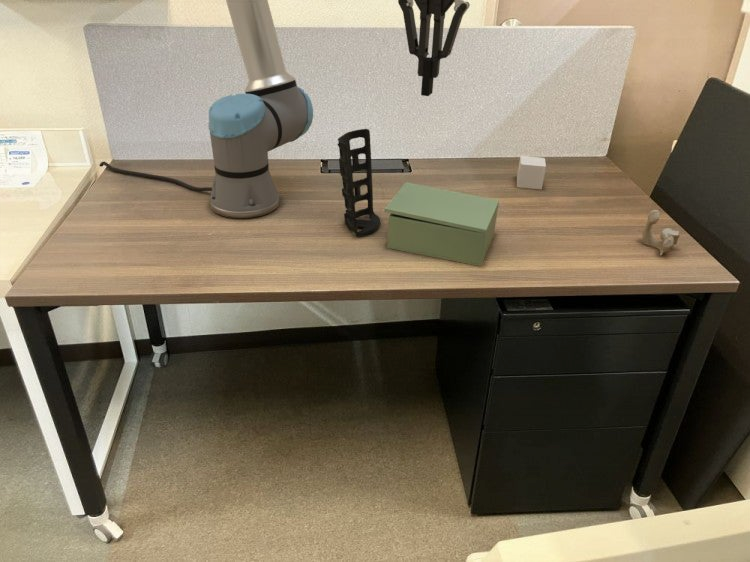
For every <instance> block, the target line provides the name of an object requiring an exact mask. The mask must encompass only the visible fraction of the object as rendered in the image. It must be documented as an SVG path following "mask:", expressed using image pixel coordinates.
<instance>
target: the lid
mask: <svg viewBox="0 0 750 562" xmlns="http://www.w3.org/2000/svg"><path fill="white" fill-rule="evenodd" d="M498 204H500V200H499V199H495V198H490V197H484V196H479V195H474V194H469V193H464V192H459V191H454V190H449V189H444V188H438V187H434V186H429V185H424V184H419V183H413V182H408V181H405V182H404V183H403V185H402V186H401V187H400V189H399V190H397V192H396V194H395V195H394V196H393V198H392V199H391V200H390V201H389V202H388V204H387V205H386V206H385V207H384V210H383V212H384V213H387V214H396V215H400V216H405V217H410V218H415V219H419V220H424V221H429V222H433V223H438V224H443V225H448V226H452V227H457V228H462V229H466V230H471V231H476V232H481V233H485V234H486V232H487V229H488V227H489V225H490V223H491V220H492V218H493V216H494V213H495V211H496V209H497V206H498V207H499V205H498Z"/></svg>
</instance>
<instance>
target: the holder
mask: <svg viewBox="0 0 750 562" xmlns="http://www.w3.org/2000/svg"><path fill="white" fill-rule="evenodd" d="M358 138H362V139H363V140H364V145H363V146H361V147H356V148H351V142H350V141H351V140H353V139H358ZM337 142H338V143H337V144H336V145H337V147H338V150H339V158H338V163H339V164H338V165H339V174H340V176H341V180H342V188H341V194H342V197H343V200H344V208H345V213H343V217H344V225H345V226H346V227H347V229H348V231H350V232H352V233H353V234H354V235H355V237H357V238H362V237H365V236H367V235H370V234H371V233H373V232H374V231H376V230H377V229H378V228H380V225H381V218H380V217H379V216H378V215H377V214H376V213H375V212H374V191H373V190H374V189H373V169H372V148H371V132H370V129H369V128H360V129H355V130H351V131H348V132H346V133H344V134H342V135H341V136H340V137H338V138H337ZM359 155H364V156H365V162H363V163H360V160H359ZM359 171H365V174H366V177H365V178H361V179H357V180H354V178H353V174H354V173H355V172H359ZM362 186H366V193H363V194H362V192H361V187H362ZM362 201H366V202H367V206H366V208H361V209H358V210H356V204H357V203H359V202H362ZM364 216H369V218H370V219H358V218H360V217H364ZM358 228H359V229H361V230H358Z"/></svg>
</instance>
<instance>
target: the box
mask: <svg viewBox="0 0 750 562" xmlns="http://www.w3.org/2000/svg"><path fill="white" fill-rule="evenodd" d="M499 204H500V203H499ZM499 204H498V206H497V209H496V211H495V213H494V216H493V218H492V220H491V223H490V225H489V227H488V229H487V232H486V234H485V233H481V232H476V231H471V230H466V229H462V228H457V227H452V226H448V225H443V224H438V223H433V222H429V221H424V220H419V219H415V218H410V217H405V216H400V215H396V214H391V213H389V215H388V219H387V220H388V221H387V242H386V243H387V245H386V249H390V250H396V251H400V252H406V253H411V254H417V255H421V256H427V257H431V258H437V259H442V260H447V261H451V262H458V263H463V264H467V265H472V266H473V265H474V266H477V267H482V266H483V263H484V260H485V257H486V255H487V253H488V250H489V248H490V245H491V243H492V240H493V238H494V235H495V230H496V224H497V217H498V211H499Z"/></svg>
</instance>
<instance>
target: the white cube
mask: <svg viewBox="0 0 750 562" xmlns="http://www.w3.org/2000/svg"><path fill="white" fill-rule="evenodd" d="M546 169H547V164H546V159H545V157H539V156H538V157H537V156H528V155H520V156H519V161H518V169H517V174H516V187H517V188H522V189H534V190H543V184H544V179H545V175H546V174H545V173H546Z"/></svg>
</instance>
